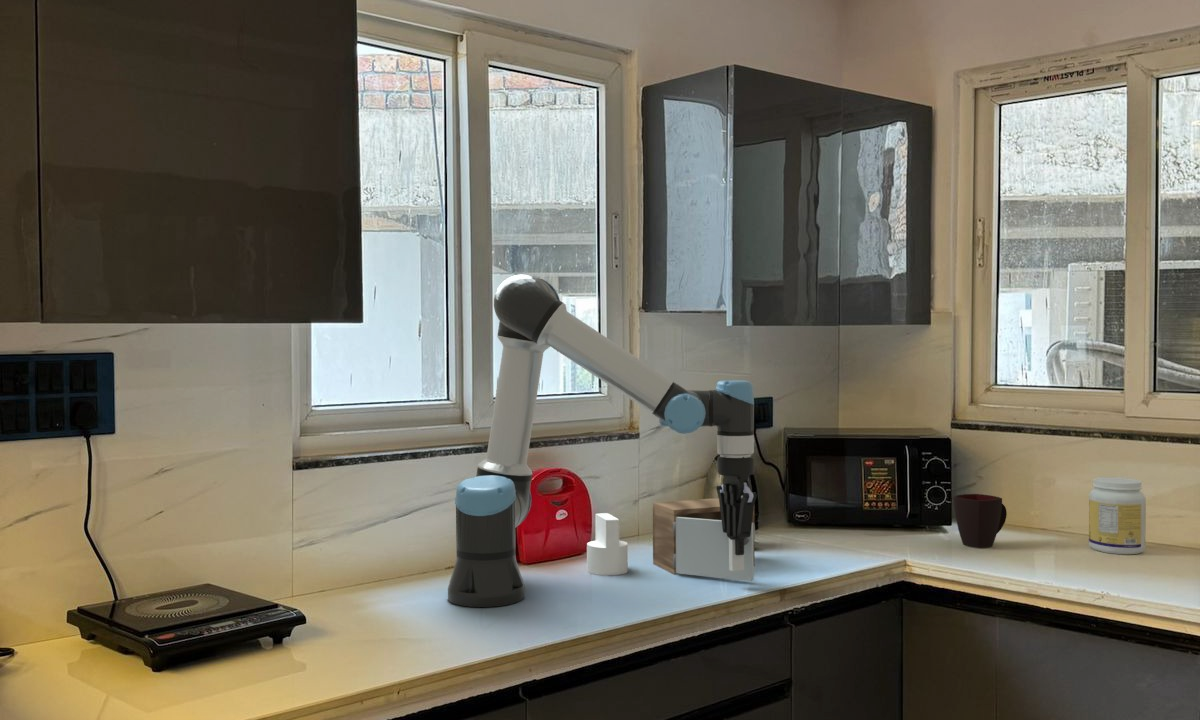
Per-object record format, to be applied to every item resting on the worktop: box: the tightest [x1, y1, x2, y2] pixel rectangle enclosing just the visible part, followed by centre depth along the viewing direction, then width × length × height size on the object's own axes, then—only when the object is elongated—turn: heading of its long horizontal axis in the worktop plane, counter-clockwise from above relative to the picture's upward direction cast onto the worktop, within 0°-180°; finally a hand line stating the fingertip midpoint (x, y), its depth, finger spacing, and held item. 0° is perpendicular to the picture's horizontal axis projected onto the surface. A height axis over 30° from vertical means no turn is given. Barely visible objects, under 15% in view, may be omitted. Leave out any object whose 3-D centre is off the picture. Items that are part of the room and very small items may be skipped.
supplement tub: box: [1088, 476, 1147, 555], centre depth 241 cm, size 12×12×17 cm
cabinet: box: [652, 497, 756, 575], centre depth 227 cm, size 20×11×14 cm, turn 111°
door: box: [673, 517, 755, 582], centre depth 213 cm, size 18×3×12 cm, turn 63°
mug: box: [953, 493, 1008, 549], centre depth 248 cm, size 10×14×12 cm
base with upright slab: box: [586, 512, 629, 576], centre depth 222 cm, size 9×9×12 cm
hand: (736, 569), depth 206 cm, fingers closed
